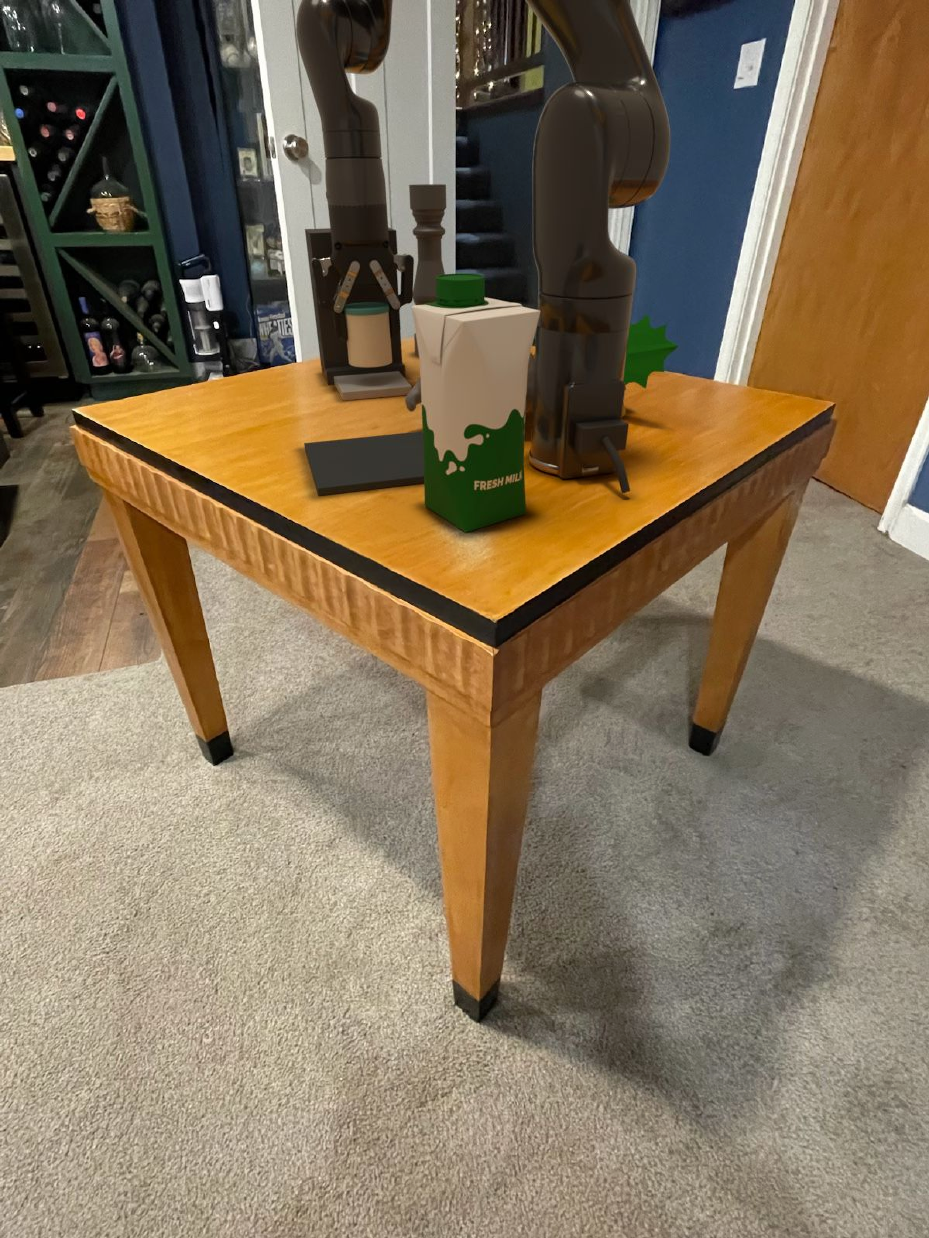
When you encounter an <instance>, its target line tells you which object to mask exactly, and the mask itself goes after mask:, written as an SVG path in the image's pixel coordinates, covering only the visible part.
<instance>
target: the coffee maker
mask: <svg viewBox="0 0 929 1238" xmlns="http://www.w3.org/2000/svg"><path fill="white" fill-rule="evenodd" d="M388 233H389V246H390V249H391V251H392V253H393V254H397V255H399V254H398V235H397V234H398V233H397V230H396V229H394V228H392V227H389V226H388ZM304 234H305V242H306V250H307V251H306V252H307V259H308V266H309V275H310V282H311V293H312V302H313V310H314V317H315V326H316V327H315V328H316V335H317V342H318V343H317V344H318V351H319V352H318V353H319V360H320V366H321V374H322V376H323V378H324V380H325V382H326V384H327V385H328V386H330V385H331V386H333V385H334V387H336V390H337V392H338V394H339V396H340V397H341V400H342V401H343V402H345V401H354V400H366V399H377V398H388V397H390V398H391V397H402V396H407V394H408V393H409V392H410V391H411V389H412V388H413V387H412V385H411V384H410V383H409V382H408V381H407V379H406V378H407V377H406V365H405V364H404V363H403V353H402V352H403V351H402V334H401V331H400V333H397V338H391V351H392V363H390V364H388V365H385V366H380V367H355V366H352V365H350V364H349V358H348V348H347V341H344V342H342V341H341V339H340V337H337V335H336V333H335V328H334V319H333V312H332V311H331V310H329V309H324V308H322V307H321V306H320V305H319V303H318V299H317V294H316V290H315V285H314V280H313V275H312V271H311V266H310V260H311V258H317V259H320V258H326V257H330V255H331V252H332V239H331V229H330V227H327V228H304ZM386 278H387V280H388V282H389V283H390V285H391V287H392V289H393V291H394V293H395V295H396V296H397V295H399V283H398V282H399V280H398V279H399V277H398V269H397V266H396V264H395V263H394V262H393V264H392V266H391V268H390V270H389V271H388V273H387V275H386ZM340 279H341V277H340V275H339V274H338V273H337V272H336V270H335V269H334V268H333V266H332V265H331V266H329V268H328V274H327V275H326V276H324V281H325V286H326V291H327V296H328V299H332V300H333V299H334V297H335V294H336V291H337V287H338V284H339V281H340ZM363 302H378V303H386V304H388V302H387V300H386V298H385V297H384V295H383V293H382V292H381V290H380V289H379V287H377V288H368V287H364V288H361V289H353V288H351V291H350V294H349V296H348V298H347V300H346V302H345V305H347V304H353V303H363ZM388 305H389V304H388Z"/></svg>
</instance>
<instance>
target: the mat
mask: <svg viewBox="0 0 929 1238" xmlns="http://www.w3.org/2000/svg"><path fill="white" fill-rule="evenodd" d="M304 451H305V454H306V457H307V461H308V465H309V468H310V471H311V472H310V473H311V474H312V479H313V482H314V485H315V489H316V492H317V496H326V495H327V496H329V495H335V494H343V493H344V494H345V493H353V492H361V491H370V490H377V489H378V490H379V489H386V488H393V487H394V488H395V487H403V486H412V485H420V484H424V451H423V431H410V432H400V433H392V434H391V433H390V434H382V435H381V434H380V435H370V436H361V437H353V438H342V439H334V440H333V439H332V440H323V441H313V442H304Z"/></svg>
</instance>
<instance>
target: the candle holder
mask: <svg viewBox="0 0 929 1238" xmlns="http://www.w3.org/2000/svg"><path fill="white" fill-rule="evenodd" d="M408 188H409V189H408V190H409V209H410V210H411V212H412V213H411V215H412V217H413V218H414V222H415V223H416V225H415V227H414V228H413V229H412V235H413V236H415V239H416V241H417V265H416V271H415V275H414V276H415V278H414V281H413V300H412V301H413V303H414V304H415V305H424V303H432V302H436V301H437V297H436V277H437V276H439V275H444V274H446V272H445V268H444V264H443V257H442V254H443V252H442V251H443V250H442V239H443V236H444V235H446V229H445V228H444V227H443V226H442V222H443V218H444V216H445V214H446V212H445V210H446V209H447V184H444V183H443V184H441V183H440V184H439V183H434V184H433V183H431V184H430V183H429V184H428V183H427V184H423V183H422V184H409V185H408ZM415 305H414V306H415ZM413 337H414V338H413V339H414V355H415V357H417V358H419V352H418V345H417V339H416V332H415V333H414V335H413Z"/></svg>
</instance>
